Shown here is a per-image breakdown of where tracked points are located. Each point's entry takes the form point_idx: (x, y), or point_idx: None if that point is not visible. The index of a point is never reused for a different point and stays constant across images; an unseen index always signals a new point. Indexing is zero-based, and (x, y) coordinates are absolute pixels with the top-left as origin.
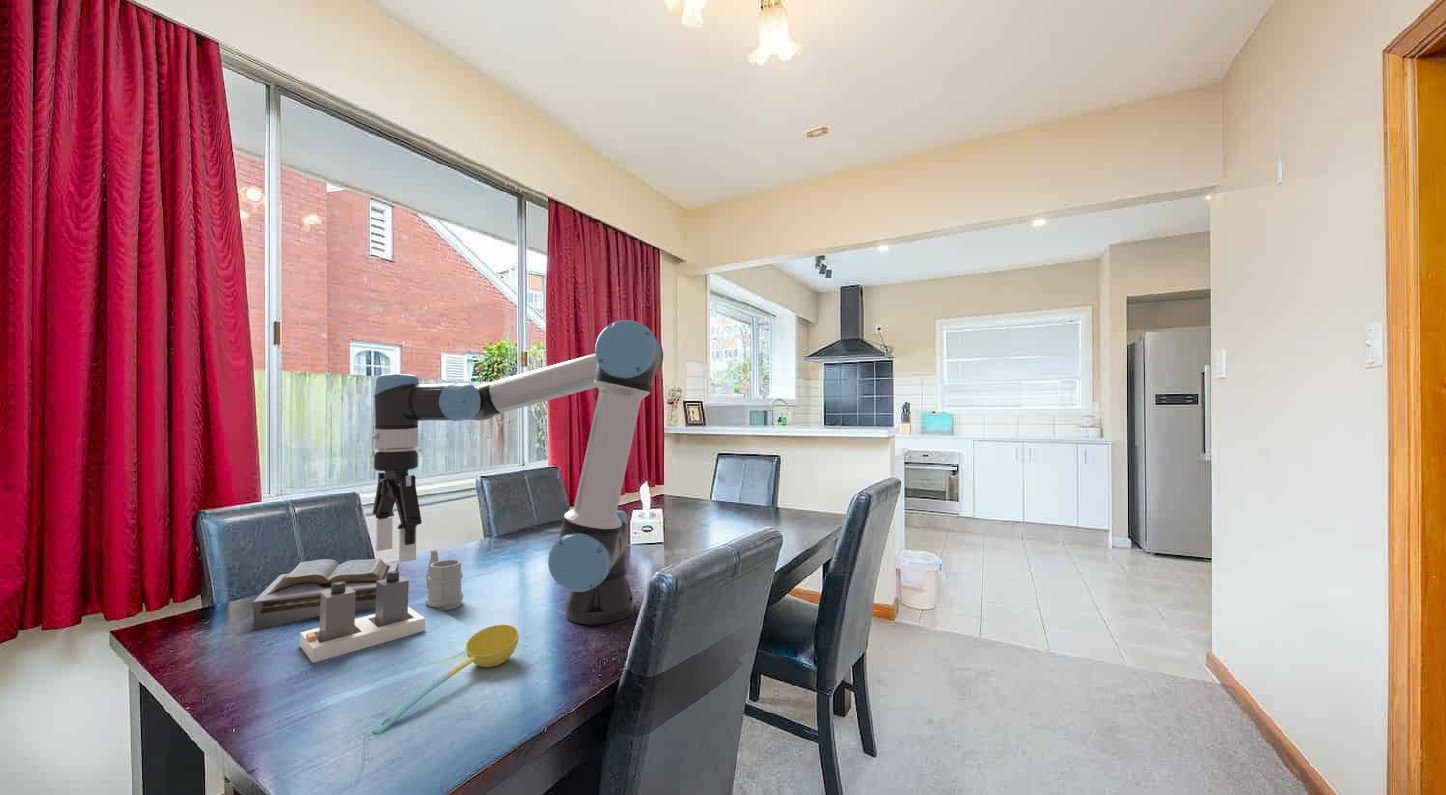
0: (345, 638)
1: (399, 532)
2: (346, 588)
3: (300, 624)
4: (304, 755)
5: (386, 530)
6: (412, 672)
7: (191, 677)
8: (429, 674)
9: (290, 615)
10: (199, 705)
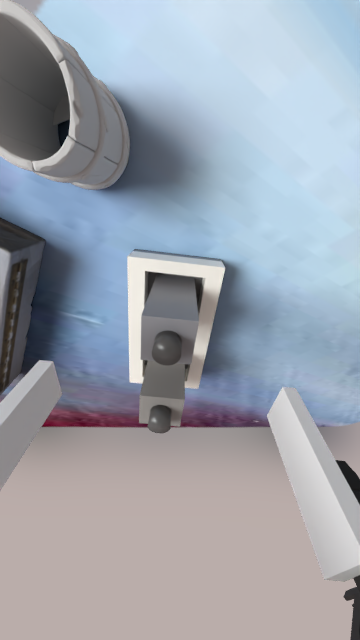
0: (198, 363)
1: (314, 546)
2: (149, 400)
3: (31, 340)
4: (342, 410)
5: (4, 448)
6: (312, 322)
7: (126, 418)
8: (339, 314)
9: (17, 356)
10: (191, 423)
